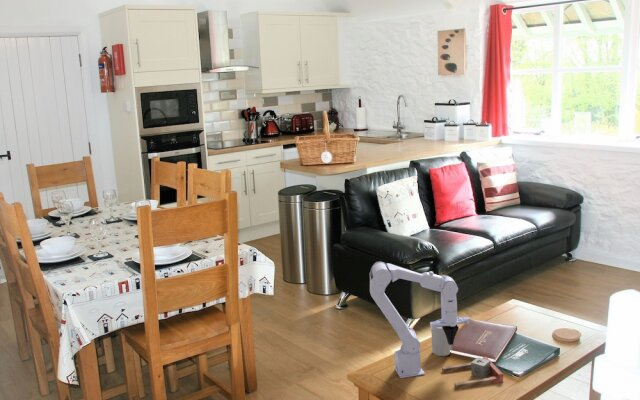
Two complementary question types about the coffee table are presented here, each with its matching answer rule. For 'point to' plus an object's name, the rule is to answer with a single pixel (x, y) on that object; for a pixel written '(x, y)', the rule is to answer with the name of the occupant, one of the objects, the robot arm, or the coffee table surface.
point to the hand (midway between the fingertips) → (450, 343)
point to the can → (440, 342)
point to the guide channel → (494, 371)
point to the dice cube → (480, 367)
